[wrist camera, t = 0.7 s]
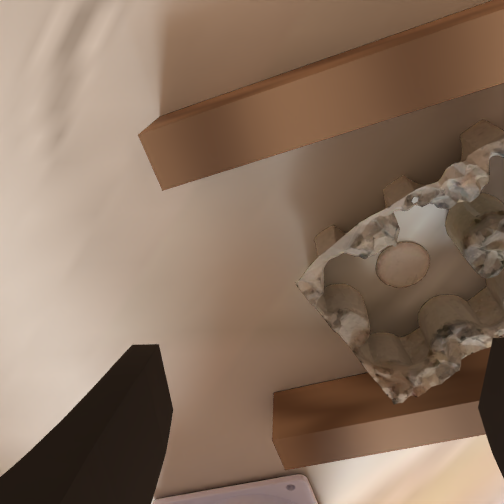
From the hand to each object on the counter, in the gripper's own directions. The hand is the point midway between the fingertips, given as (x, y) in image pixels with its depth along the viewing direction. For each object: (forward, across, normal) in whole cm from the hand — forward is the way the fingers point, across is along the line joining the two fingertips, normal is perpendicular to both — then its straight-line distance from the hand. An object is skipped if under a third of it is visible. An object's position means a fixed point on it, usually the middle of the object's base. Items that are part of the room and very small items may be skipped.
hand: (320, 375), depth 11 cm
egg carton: (+10, -5, +2) cm, 12 cm away
